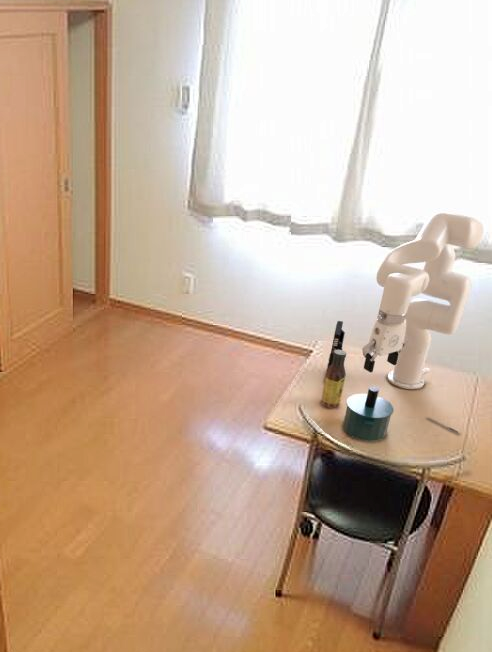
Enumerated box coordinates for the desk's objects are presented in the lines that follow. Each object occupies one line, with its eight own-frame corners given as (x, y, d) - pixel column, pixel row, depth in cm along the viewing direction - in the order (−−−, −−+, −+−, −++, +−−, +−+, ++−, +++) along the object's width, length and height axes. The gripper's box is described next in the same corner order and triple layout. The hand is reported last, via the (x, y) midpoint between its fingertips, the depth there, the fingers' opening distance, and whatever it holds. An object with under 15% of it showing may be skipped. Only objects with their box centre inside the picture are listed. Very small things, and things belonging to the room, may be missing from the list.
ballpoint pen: (458, 434, 210) (459, 431, 209) (457, 435, 209) (458, 432, 209) (428, 419, 217) (429, 416, 216) (427, 420, 216) (428, 417, 216)
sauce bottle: (340, 410, 220) (351, 358, 210) (321, 407, 221) (331, 356, 211) (339, 400, 226) (349, 349, 215) (320, 398, 227) (330, 347, 216)
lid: (392, 400, 210) (397, 381, 206) (393, 424, 198) (398, 404, 194) (346, 393, 213) (350, 374, 210) (345, 415, 202) (349, 396, 198)
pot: (385, 418, 216) (390, 395, 212) (385, 450, 201) (392, 426, 196) (344, 411, 219) (348, 388, 215) (341, 442, 204) (347, 418, 199)
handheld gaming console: (326, 368, 245) (336, 320, 235) (339, 371, 243) (349, 322, 233) (323, 383, 235) (333, 334, 225) (336, 386, 234) (346, 336, 223)
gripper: (379, 326, 183) (367, 379, 192) (422, 315, 190) (409, 366, 199) (360, 316, 189) (349, 367, 198) (403, 305, 196) (391, 355, 205)
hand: (379, 366), depth 199 cm, fingers open, 9 cm apart
